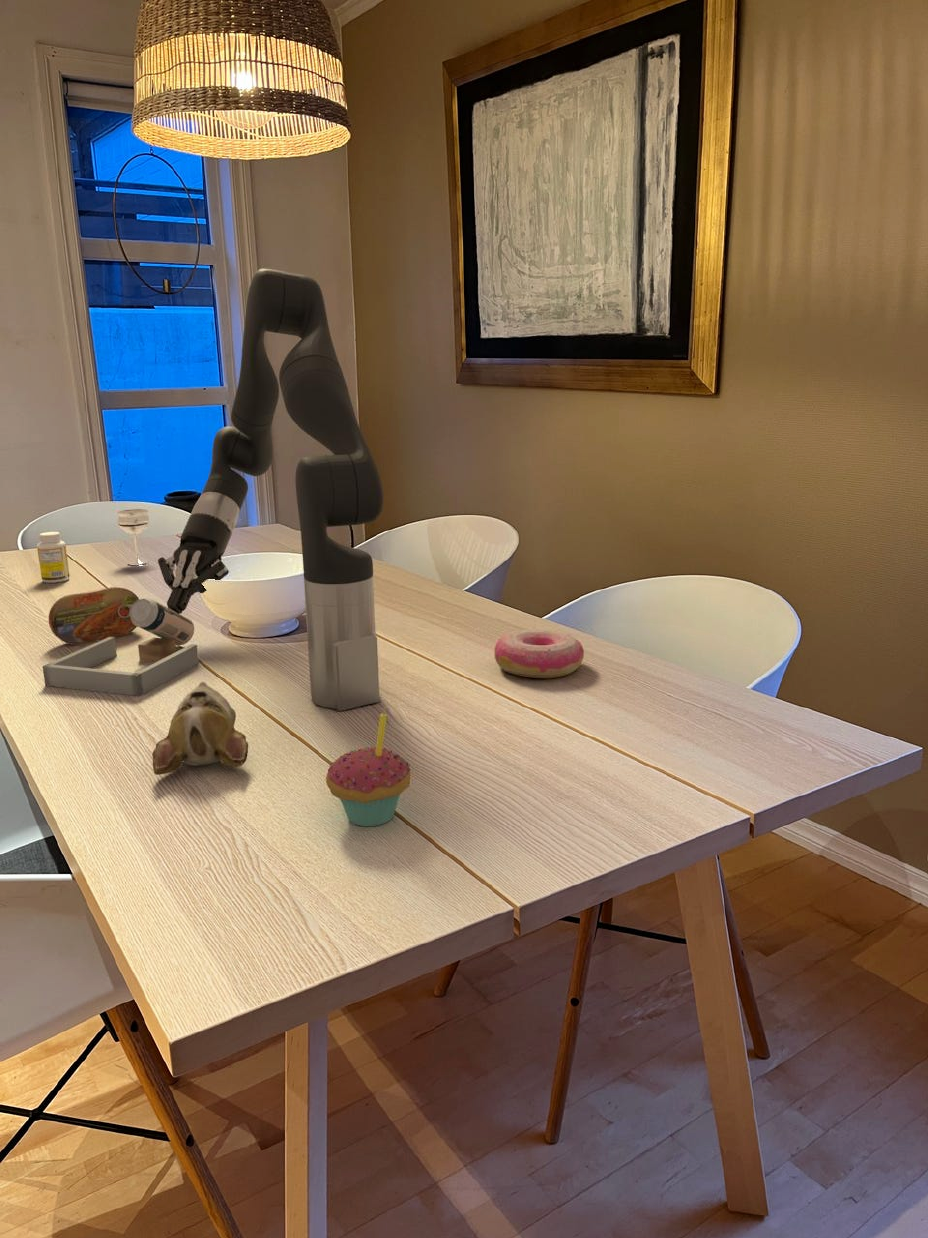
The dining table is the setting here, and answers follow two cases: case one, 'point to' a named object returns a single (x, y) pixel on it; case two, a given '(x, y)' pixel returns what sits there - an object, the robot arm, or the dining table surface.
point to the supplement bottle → (52, 558)
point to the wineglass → (134, 525)
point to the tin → (92, 615)
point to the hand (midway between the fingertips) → (174, 610)
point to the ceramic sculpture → (201, 734)
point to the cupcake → (369, 781)
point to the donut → (538, 653)
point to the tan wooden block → (156, 649)
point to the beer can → (161, 621)
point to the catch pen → (80, 675)
